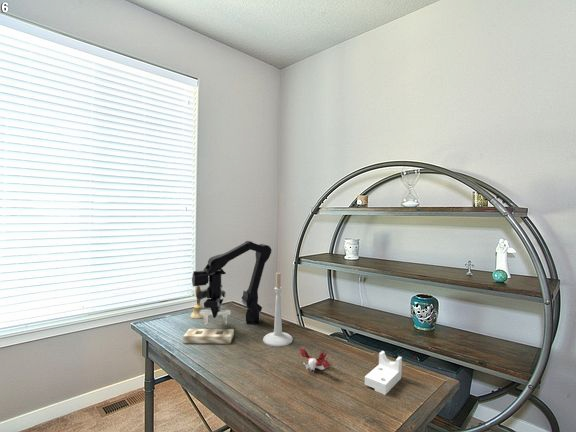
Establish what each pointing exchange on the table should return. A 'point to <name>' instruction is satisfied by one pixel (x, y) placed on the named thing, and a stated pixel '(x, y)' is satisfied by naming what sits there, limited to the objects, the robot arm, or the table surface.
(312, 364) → the figurine
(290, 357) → the table surface
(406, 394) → the table surface
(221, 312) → the steel clip
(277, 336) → the candlestick
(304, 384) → the table surface
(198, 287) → the hand bell
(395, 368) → the bracket
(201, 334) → the maple rail
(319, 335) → the table surface
